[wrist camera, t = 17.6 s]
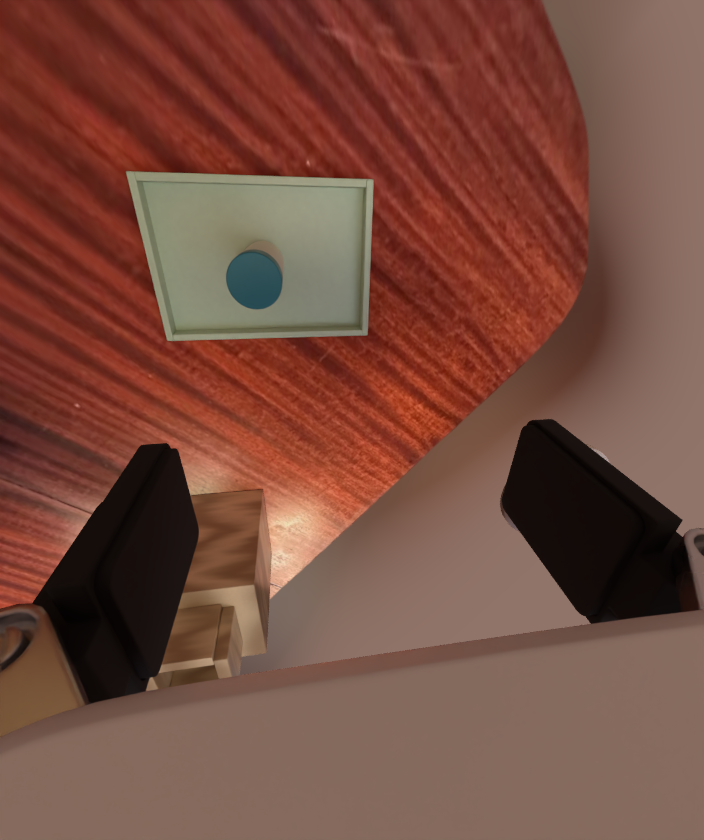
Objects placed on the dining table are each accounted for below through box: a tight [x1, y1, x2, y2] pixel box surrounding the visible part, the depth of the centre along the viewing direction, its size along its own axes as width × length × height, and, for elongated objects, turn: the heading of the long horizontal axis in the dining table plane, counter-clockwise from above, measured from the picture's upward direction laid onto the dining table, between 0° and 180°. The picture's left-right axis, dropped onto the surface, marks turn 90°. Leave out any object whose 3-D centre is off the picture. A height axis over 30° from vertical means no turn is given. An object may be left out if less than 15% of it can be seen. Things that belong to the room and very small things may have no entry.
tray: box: [126, 171, 374, 341], centre depth 33 cm, size 19×13×2 cm
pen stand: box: [146, 489, 272, 691], centre depth 41 cm, size 12×12×19 cm
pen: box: [226, 241, 284, 310], centre depth 28 cm, size 4×4×11 cm
